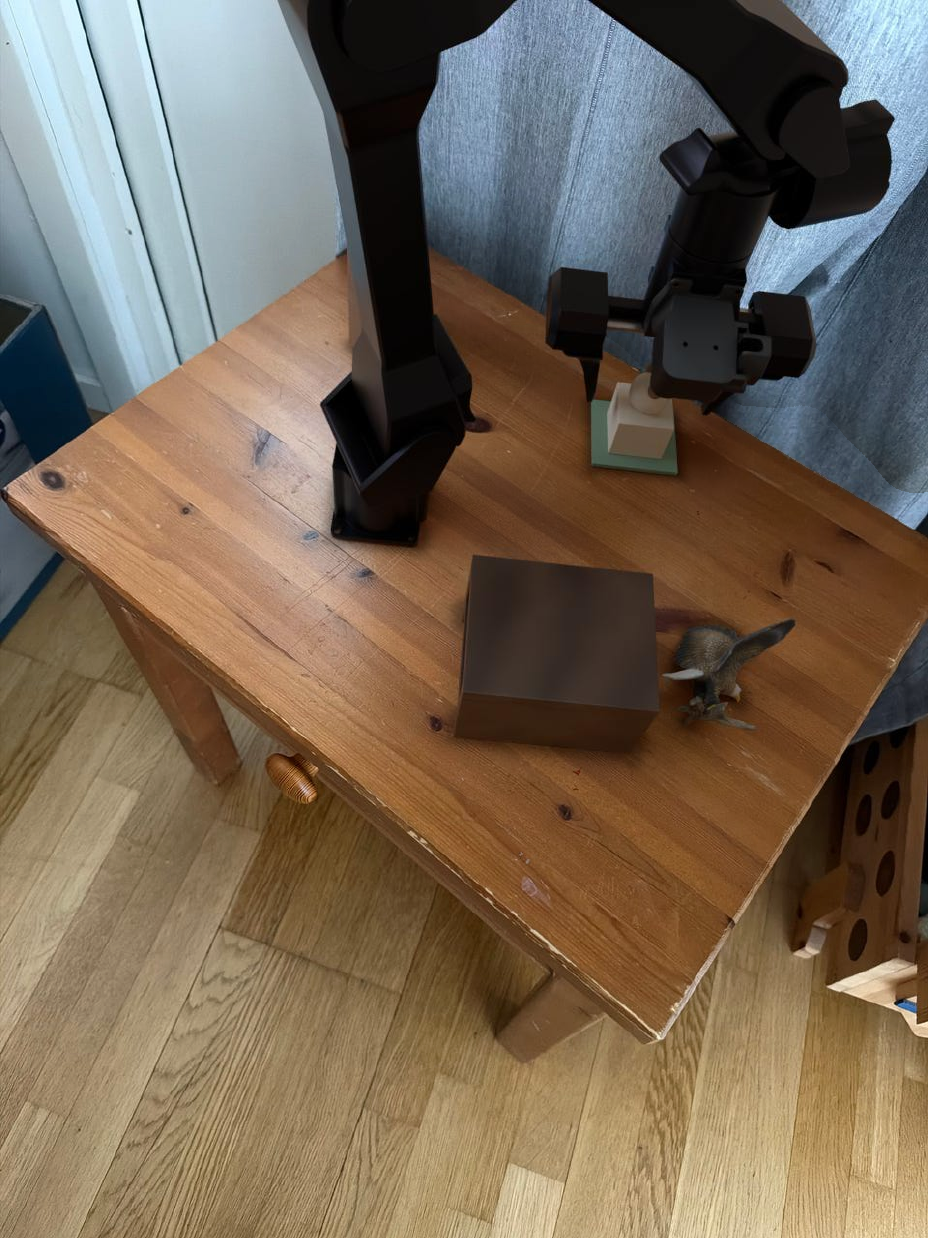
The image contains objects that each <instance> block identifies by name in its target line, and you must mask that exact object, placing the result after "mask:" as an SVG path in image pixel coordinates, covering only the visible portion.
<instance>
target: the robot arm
mask: <svg viewBox="0 0 928 1238" xmlns="http://www.w3.org/2000/svg"><path fill="white" fill-rule="evenodd" d="M276 1H277V3H278V6H279V8H280V12H281V14H282V16H283V20H284V21H285V24H286V27H287V29H288V32H289V33H290V36H291V39H292V42H293V44H294V46H295V48H296V50H297V53H298V56H299V58H300V60H301V62H302V65H303V67H304V69H305V72H306V75H307V76H308V79H309V81H310V84H311V87H312V89H313V91H314V93H315V97H316V98H317V101H318V103H319V106H320V108H321V111H322V114H323V119H324V124H325V129H326V135H327V141H328V142H327V143H328V146H329V152H330V157H331V164H332V168H333V169H332V170H333V174H334V180H335V186H336V190H337V196H338V202H339V208H340V213H341V218H342V223H343V229H344V235H345V240H346V247H347V246H348V251H349V257H350V262H351V268H352V273H353V279H354V284H355V290H356V295H357V301H358V306H359V312H360V317H361V323H362V330H361V333H360V335H359V337H358V339H357V340H356V342H355V344H354V346H353V348H352V347H351V349H352V350H351V351H352V352H351V371H350V372H349V373H348V374H347V375H346V376H345V377H344V378H343V379H342V380H341V381H340V382H339V383H338V384H337V385H336V386H335V387H333V389H331V391H330V392H329V394H327V395H326V396H325V397H324V398H323V399H322V400H321V401H320V402H319V407H320V409H321V411H322V414H323V416H324V419H325V420H326V422H327V425H328V427H329V429H330V432H331V434H332V436H333V438H334V441H335V448H334V454H333V460H332V465H331V471H332V472H331V473H332V486H333V487H332V488H333V491H332V492H333V505H334V506H333V513H332V518H331V524H330V536H331V537H332V538H334V539H337V540H338V539H339V540H347V541H356V542H365V543H375V544H382V545H383V544H385V545H395V546H402V547H403V546H404V547H415V546H417V545H418V542H419V535H420V525H421V523H425V522H426V521H427V517H428V508H429V501H430V500H429V499H430V493H431V492H432V491H433V489H435V486H436V484H437V483H438V480H439V479H440V478H441V475H442V474H443V472H444V471H445V469H446V467H447V465H448V463H449V461H450V460H451V458H452V455H453V454H454V453H455V450H456V448H457V447H460V446H461V445H462V443H463V441H464V439H465V438H466V433H467V428H468V427H467V423H475V422H476V416H475V415H474V413H473V411H472V409H471V397H472V392H473V377H472V374H471V372H470V370H469V369H468V367H467V365H466V363H465V361H464V359H463V357H462V356H461V354H460V353H459V350H458V348H457V347H456V345H455V343H454V342H453V340H452V338H451V336H450V334H449V333H448V330H447V329H446V327H445V325H444V323H443V322H442V320H441V318H440V316H439V315H438V313H435V314H434V312H435V311H434V301H433V287H432V275H431V264H430V263H431V262H430V253H429V252H430V251H429V240H428V229H427V218H426V217H427V215H426V204H425V192H424V181H423V170H422V169H423V168H422V157H421V146H420V125H421V121H422V119H423V116H424V115H425V112H426V109H427V108H428V105H429V103H430V100H431V99H432V97H433V94H434V92H435V89H436V87H437V85H438V82H439V77H440V67H441V56H442V52H445V51H447V50H450V49H452V48H455V47H457V46H459V45H462V44H464V43H467V42H469V41H472V40H474V39H477V38H478V37H480V36H482V35H483V34H485V33H486V32H487V31H488V30H489V29H490V28H491V27H492V26H493V25H494V24H495V23H496V22H497V21H498V20H499V19H500V18H501V17H502V16H503V15H504V14H505V13H506V12H507V11H508V10H509V9H510V8H511V7H512V6H513V5H514V4H515V3H516V2H517V1H518V0H276ZM587 1H588V2H589V3H590V4H592V5H593V6H595V7H596V8H597V9H599V10H600V11H602V12H603V13H604V14H605V15H607V16H608V17H610V18H611V19H613V20H614V21H615V22H616V23H618V24H619V25H621V26H622V27H623V28H625V29H626V30H627V31H629V32H630V33H632V34H633V35H635V36H636V37H637V38H639V39H640V40H642V41H643V42H644V43H645V44H647V45H648V46H649V47H650V48H653V49H654V50H655V51H656V52H658V53H659V54H660V55H662V56H663V57H665V58H666V59H668V60H669V61H670V62H672V63H673V64H674V65H676V66H677V67H679V68H680V69H681V70H683V71H684V73H685V74H686V75H687V76H688V78H689V79H690V80H691V82H692V84H693V85H694V86H695V87H696V88H697V90H698V91H699V92H700V94H701V95H702V96H703V97H704V99H706V100H707V102H708V103H709V104H710V105H711V106H712V108H713V109H715V111H716V112H717V113H718V114H719V115H720V116H721V118H722V119H723V120H724V121H725V123H727V124H728V125H729V127H730V128H731V129H732V130H733V131H727V132H722V133H715V134H710V135H708V134H707V133H706V132H705V131H704V130H703V128H702V127H697V128H694V130H693V131H692V132H691V133H689V135H687V136H686V137H684V138H682V139H680V140H677V141H674V142H673V143H671V144H670V145H668V146H667V147H666V148H665V149H663V150H662V151H661V152H660V154H659V157H658V160H659V162H660V163H661V165H662V166H663V167H664V168H665V169H666V171H667V172H668V174H669V175H670V176H671V177H672V178H673V180H674V181H675V183H676V184H677V185H678V187H680V189H679V191H678V194H677V197H676V200H675V203H674V206H673V209H672V212H671V214H668V215H667V219H666V221H665V224H664V226H663V227H664V228H663V229H664V230H663V231H664V236H663V239H662V242H661V245H660V248H659V251H658V254H657V257H656V260H655V263H654V266H652V265H651V266H650V270H649V273H648V277H647V287H646V290H645V294H644V297H643V299H641V298H631V297H623V296H616V295H609V273H608V272H607V271H600V270H599V271H598V270H591V269H582V268H574V267H565V266H560V267H559V268H558V269H556V270H555V271H554V272H553V273H551V275H550V276H549V281H548V286H547V290H546V297H545V298H546V300H545V301H546V303H545V305H546V306H545V337H544V338H545V339H544V340H545V344H546V345H547V346H548V347H550V348H551V349H552V350H553V351H561V352H562V353H563V355H564V356H566V357H568V358H574V359H577V360H578V361H579V364H580V366H581V370H582V375H583V381H584V382H583V383H584V390H585V396H586V402H587V403H591V402H592V401H593V399H594V398H595V396H596V393H597V388H598V381H599V374H600V367H601V361H603V360H604V343H605V340H606V337H607V331H608V330H609V331H617V332H625V333H634V334H643V336H644V337H647V338H653V341H652V355H651V363H652V369H651V376H650V387H651V390H652V391H653V393H654V394H655V395H657V396H658V397H661V398H666V399H671V398H672V399H678V400H687V401H695V402H698V403H700V404H701V405H700V409H701V411H700V412H701V415H702V416H708V415H710V414H711V413H712V412H714V411H715V410H716V409H717V408H718V407H719V406H721V405H722V404H723V403H724V402H726V401H727V400H728V399H729V398H731V396H733V395H734V394H745V392H746V390H747V387H748V386H754V385H756V384H757V383H758V382H759V381H773V382H779V381H781V380H782V379H784V378H792V379H793V378H794V379H799V378H800V377H802V376H803V375H805V374H806V372H807V371H808V369H809V368H810V366H811V363H812V362H813V360H814V358H815V356H816V351H817V346H818V343H817V338H816V331H815V326H814V322H813V321H814V320H813V315H812V312H811V306H810V304H809V302H808V300H807V298H806V296H804V295H797V294H796V295H795V294H788V293H780V292H773V291H772V292H771V291H765V290H757V291H754V292H753V293H751V296H750V298H749V301H748V303H747V307H748V308H744V307H741V300H742V298H743V295H744V293H745V290H744V289H745V287H746V285H747V283H748V277H747V270H746V269H747V267H748V265H749V263H750V260H751V258H752V255H753V253H754V252H755V249H756V246H757V244H758V242H759V239H760V238H761V235H762V232H763V230H764V228H765V226H766V224H767V221H768V219H769V218H770V220H771V221H772V222H773V224H775V225H777V226H778V227H779V228H780V229H781V228H782V229H785V230H795V229H800V228H803V227H809V226H813V225H818V224H823V223H827V222H833V221H836V220H837V221H838V220H840V219H846V218H851V217H854V216H859V215H865V214H866V213H869V212H870V211H873V210H874V209H875V208H876V207H877V206H878V205H880V203H881V202H882V200H883V199H884V198H885V196H886V195H887V194H888V193H887V192H888V191H889V189H890V185H891V183H890V178H891V173H892V166H893V165H892V164H893V156H892V147H891V143H890V139H889V137H888V134H889V132H890V130H891V128H892V126H893V124H894V123H895V121H896V118H895V115H894V114H892V113H891V112H890V111H889V110H888V109H887V108H886V106H884V105H883V104H882V103H881V102H880V101H879V100H878V99H870V100H864V101H860V102H858V103H856V104H853V105H850V106H846V107H841V102H840V99H841V98H842V94H843V89H844V88H845V87H847V85H848V83H849V80H850V77H849V69H848V68H847V65H846V64H845V62H844V60H843V59H842V58H841V57H840V56H839V55H838V54H837V53H836V52H835V51H834V50H833V49H832V48H831V47H830V46H828V45H827V44H826V43H825V41H824V40H822V39H821V37H820V36H818V34H817V33H815V32H814V31H813V30H812V29H811V28H810V27H809V26H808V25H807V24H806V23H805V22H804V21H803V20H802V19H800V17H799V16H798V15H797V14H796V13H795V12H793V11H792V10H791V8H790V7H788V6H787V5H786V4H785V3H784V2H783V1H782V0H587ZM336 531H338V532H336ZM410 539H412V540H410Z"/></svg>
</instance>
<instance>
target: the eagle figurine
mask: <svg viewBox="0 0 928 1238" xmlns="http://www.w3.org/2000/svg"><path fill="white" fill-rule="evenodd" d="M796 625H797V624H796V619H795V618H791V617H790V618H788V619H784V620H781V621H779V622H775V623H773V624H771V625H767V626H764V627H762V628H760V629H758V630H755V631H753V632H751V633H748V634H747V635H745V636H744V637H742V638H741V637H739V636H737V633H736V631H735V630H730V628H729V627H727V626H722V627H721V626H720V625H719V624H713V625H712V626H709V624H704V625H703V626H702V625H700V624H699V625H696V626H693V627H690V628H688V630H686V631H685V633H684V635H683V636H682V640H681V641H680V642H679V645H678V647H676V649H675V651H674V656H673V657H674V661H673V662H674V663H675V664H676V666H679V667H680V668H681V669H684V670H680V671H676V672H672V673H662V675H661V678H662V679H670V680H673V681H679V680H689V681H692V685H693V686H692V689H693V690H692V699H691V700H690V701H689V702H688V703H689V704H688V705H689V706H687V705H681V706H679V707H678V710H679V712H680V713H686V712H687V713H688V716H686V717H687V718H685V719H684V720H683V724H684V725H689V724H691V723H693V722H712V723H716V724H719V725H724V726H728V727H731V728H735V729H739V730H743V731H755V730H756V727H755V725H753V724H750V723H747V722H745V721H743V720H739V719H738V718H732V717H730V716H728V715H727V713H726V709H727V706H729V702H728V701H726V702H721V700H720V697H719V696H720V695H724V696H729V697H731V698H734V700H736V702H737V703H738V702H740V700H741V697H740V695H741V693H742V689H741V688H740V686H739V685H738V684H737V682H736V678H737V675H738V673H739V672H740V671H741V669H742V668H743V667H744V666H745V665H746V664H747V663H749V662H750V661H752V660H754V659H756V658H757V657H759V656H760V655H761V654H762V653H763V652H764V651H766V650H768V649H771V648H772V647H774V646H776V645H777V644H779V643H780V642H782V641H783V640H784V639H785V638H786V637H787V635H788V634H789V633H790V632H791V631H792V630H793V629H794V627H796Z"/></svg>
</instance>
